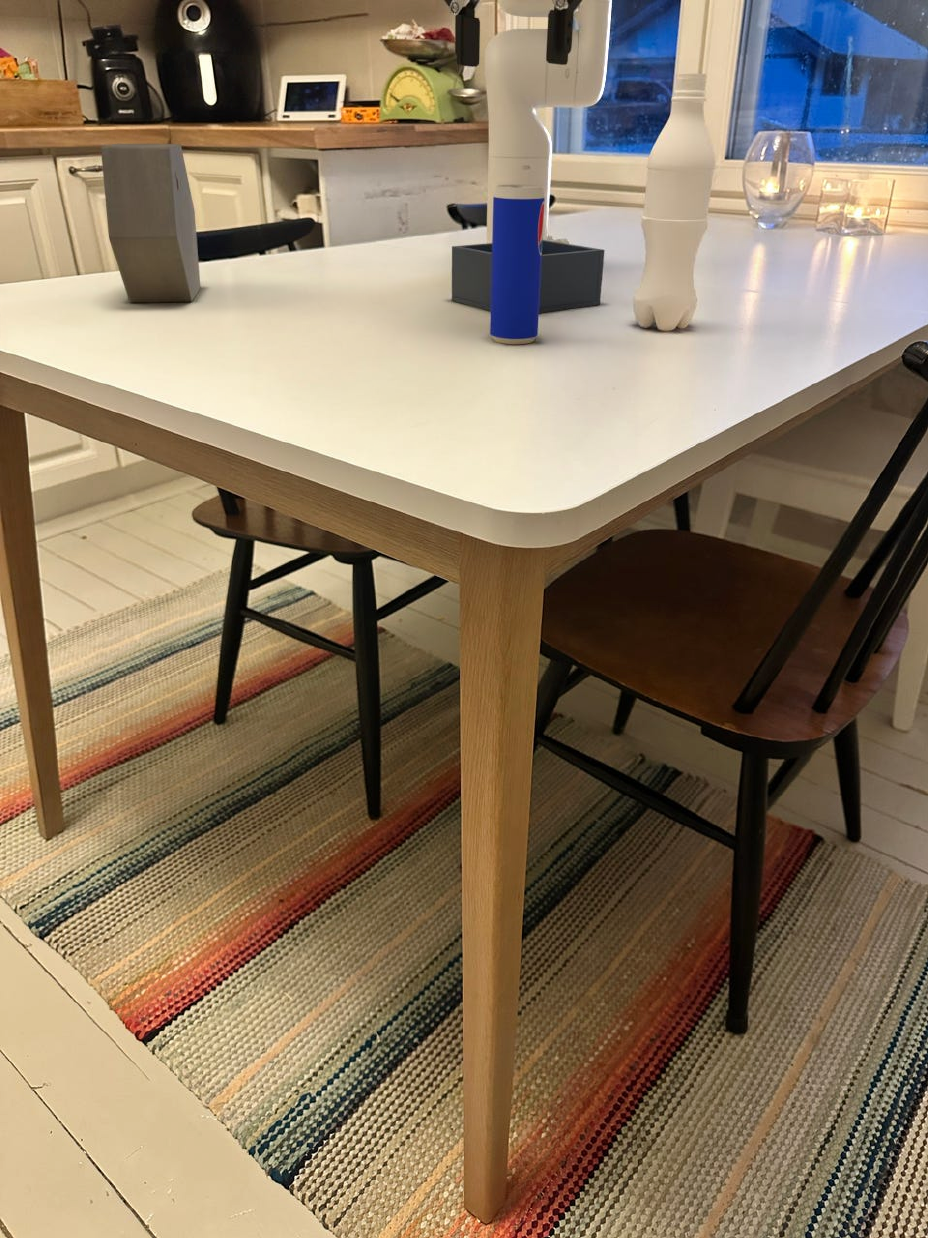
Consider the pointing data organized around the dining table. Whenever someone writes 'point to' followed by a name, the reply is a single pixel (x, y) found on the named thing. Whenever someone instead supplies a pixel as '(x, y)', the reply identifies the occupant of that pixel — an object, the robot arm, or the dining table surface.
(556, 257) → the tub
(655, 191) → the water bottle
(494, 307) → the beverage can
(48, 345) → the dining table surface
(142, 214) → the planter
